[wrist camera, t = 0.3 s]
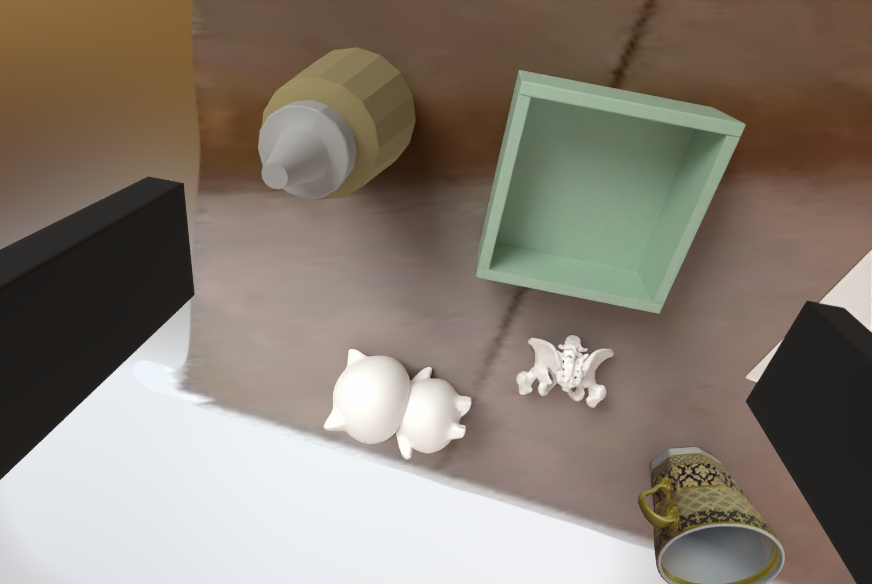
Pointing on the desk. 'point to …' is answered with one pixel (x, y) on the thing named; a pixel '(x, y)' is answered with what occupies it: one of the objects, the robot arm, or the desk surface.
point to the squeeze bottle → (336, 125)
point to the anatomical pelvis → (554, 364)
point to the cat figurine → (396, 405)
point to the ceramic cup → (707, 524)
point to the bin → (601, 190)
